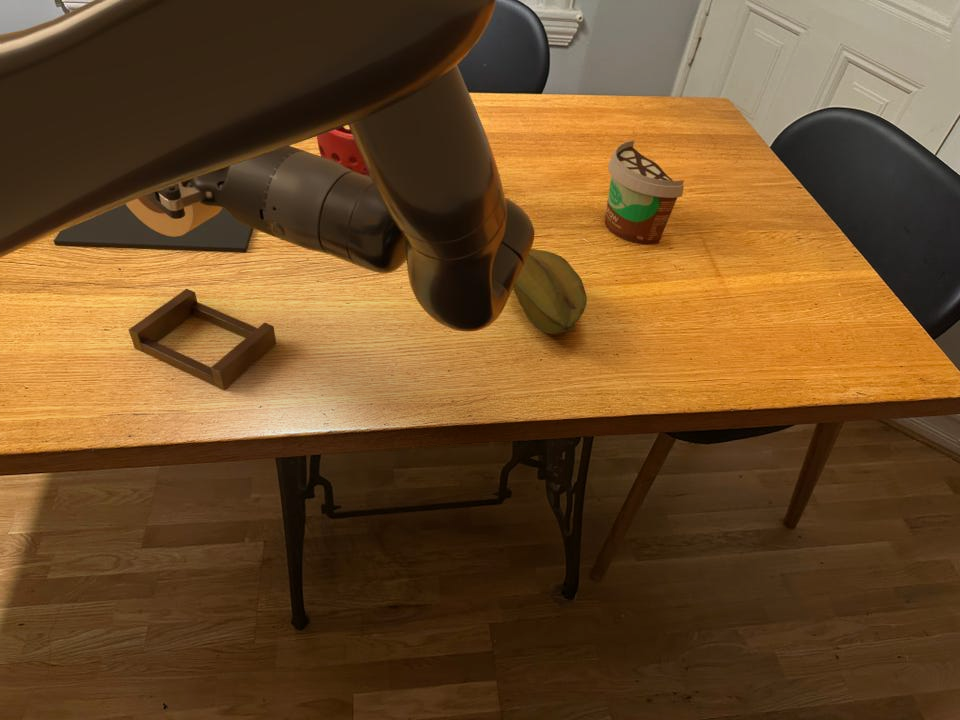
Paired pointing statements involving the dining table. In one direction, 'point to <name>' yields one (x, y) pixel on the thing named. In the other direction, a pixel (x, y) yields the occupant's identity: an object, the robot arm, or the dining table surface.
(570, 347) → the dining table surface
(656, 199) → the food container
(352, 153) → the flower pot
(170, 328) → the holder
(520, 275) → the fruit
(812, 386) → the dining table surface
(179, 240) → the mat
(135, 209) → the tape roll
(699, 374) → the dining table surface
